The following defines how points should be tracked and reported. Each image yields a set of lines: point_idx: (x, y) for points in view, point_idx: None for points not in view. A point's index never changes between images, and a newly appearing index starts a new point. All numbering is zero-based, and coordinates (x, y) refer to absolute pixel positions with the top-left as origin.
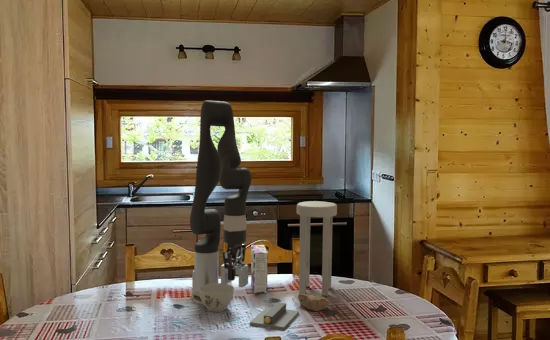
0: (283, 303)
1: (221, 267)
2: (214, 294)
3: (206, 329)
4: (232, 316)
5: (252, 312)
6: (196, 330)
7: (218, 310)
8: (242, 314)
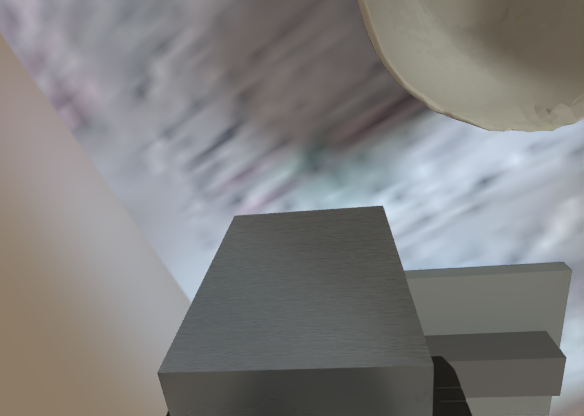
0: (554, 385)
1: (172, 356)
2: (367, 33)
3: (148, 116)
4: (384, 144)
5: (488, 213)
6: (106, 74)
7: (419, 24)
8: (437, 179)
